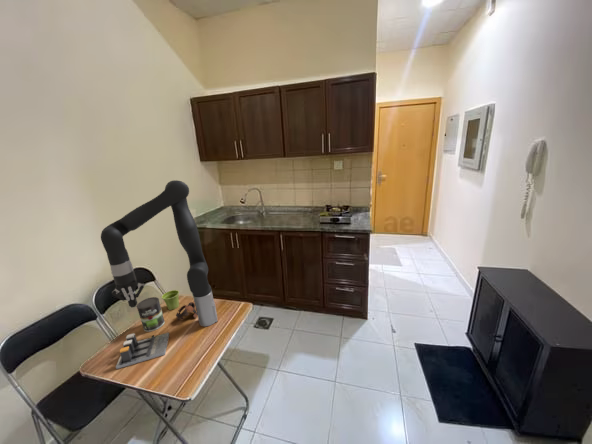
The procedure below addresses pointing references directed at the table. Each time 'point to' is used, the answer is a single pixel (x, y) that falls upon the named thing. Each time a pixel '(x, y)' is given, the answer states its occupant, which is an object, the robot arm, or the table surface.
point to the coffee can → (150, 314)
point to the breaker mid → (130, 344)
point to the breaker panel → (146, 350)
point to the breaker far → (132, 338)
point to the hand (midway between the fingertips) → (133, 306)
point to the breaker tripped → (125, 354)
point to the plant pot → (171, 299)
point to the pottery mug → (188, 307)
